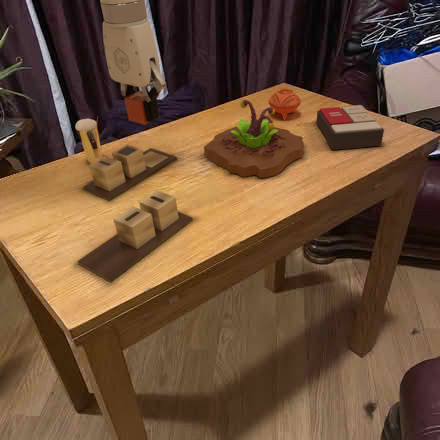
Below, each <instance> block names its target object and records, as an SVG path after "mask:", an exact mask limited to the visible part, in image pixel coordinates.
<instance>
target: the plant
mask: <svg viewBox="0 0 440 440" xmlns="http://www.w3.org/2000/svg"><path fill="white" fill-rule="evenodd" d="M239 105H240V107H241V108H242V109H245V108H247V107H249V110H250V118H251V119H250V121H249V122H248V121H247V120H245V119H240V120H239V124H236V126H234V127H231V128H228V129H226V130H224V131H220V132H219V133H216V134H214V137H213V139H212V140H209V142H208V143H206V144H205V145H204V146H203V156H204V157H205V158H207V160H209V161H211V162H214V163H215V164H216V165H217V166H218V167H220V168H223V169H226V170H228V172H229V174H236V175H239V176H240V177H242V178H247V177H251V176H256V177H258V178H260V179H265V178H272V177H274V176H277V175H279V174H281V172H282V171H283V170H284V169H285V167H287V166H288V165H290V164H292V163H293V162H294V161H296V160H298V159H301V158H302V157H303V156H302V155H303V153H304V144H305V142H304V141H303V138H304V137H303V136H301V135H297V134H294V133H292V132H291V131H290V130H288V129H286V128H280V127H276V126H275V123H274V121H273V120H272V119H271V117H270V116H274V115H275V113H276V111H275V110H274V109H273V108H272V107H270V106H269V107H266V108H265V109H263V111H262V112H261V113H260V115H259V117H258V118H257V113H256V109H255V107H254V105H253V103H252V102H251V101H250V100H247V99H243V100H241V102H240V104H239ZM267 112H268V114H269V115H270V116H268V115H265V114H266V113H267Z"/></svg>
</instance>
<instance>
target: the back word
mask: <svg viewBox="0 0 440 440" xmlns="http://www.w3.org/2000/svg"><path fill="white" fill-rule="evenodd" d="M111 156H112V157H110V156H107V155H106V156H102V157H103V158H101V159H100V160H98V161H96V162H94V163H92V164H91V163H89V165H88V167H89V170H90V174H91V177H92V181H90V182H89V183H87V184H85V185H84V186H82V190H84V191H85V192H88V193H91V194H92V195H95V196H98V197H100V198H102V199H104V200H107V201H109V202H110V201H112V200H113V199H115V198H117V197H118V196H120V195H121V194H123V193H125V192H126V191H128V190H130V189H131V188H133V187H134V186H136V185H138V184H139V183H141V182H143V181H144V180H146V179H147V178H149V177H151V176H152V175H154V174H155V173H157V172H159V171H160V170H162V169H163V168H165V167H167V166H168V165H170V164H171V163H173V162H175V161H176V160H178V158H177V156H175V155H173V154H170V153H168V152H167V153H166V152H163V151H160V150H157V149H154V148H151V147H149V149H146V150H145V151H144V149H143V148H140V147H137V146H133V145H130V144H125V145H124V146H122V147H120V148H118V149H116V150H114V151H113V152H111Z"/></svg>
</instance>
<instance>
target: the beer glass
mask: <svg viewBox="0 0 440 440" xmlns="http://www.w3.org/2000/svg"><path fill="white" fill-rule="evenodd" d="M98 119H99V117H97V118H96V120H94V119H91V118H83V119H79V120H78V121H77V122H76V123H75V130H76V131H75V132H76V133H77V135H78V138H79V140H80V142H81V146H82V148H83V150H84V153H85V156H86V158H87V161H88V163H89V164H92V163H94V162H96V161H98V160H100V159H101V158H103V157H104V156H103V152H102V147H101V141H100V133H99V128H98Z"/></svg>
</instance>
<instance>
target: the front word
mask: <svg viewBox="0 0 440 440" xmlns="http://www.w3.org/2000/svg"><path fill="white" fill-rule="evenodd" d="M138 204H139V207H137V206H132V205H131V206H130V207H129V208H127V209H126V210H125V211H123V212H121V213H119V214H118V215H117V216H115V217H114V218H112V219H113V222H114V226H115V230H116V234H114V235H113V236H112V237H110V238H109V239H108V240H106V241H105V242H103V243H102V244H100V245H99V246H97V247H96V248H94V249H93V250H91V251H90V252H89V253H87V254H85V256H83V257H81V258H80V259H78V260H77V264H78V265H79V266H81V267H82V268H85V269H86V270H88V271H90V272H91V273H94V274H95V275H97V276H99V277H101V278H102V279H104V280H106V281H107V282H109V283H112V282H114V281H115V280H116V279H117V278H119V277H120V276H121V275H122V274H124V273H125V272H127V271H128V270H130V268H132V267H134V265H136V264H137V263H138V262H139V261H142V259H144V258H145V257H146V256H147V255H149V254H150V253H152V252H153V251H154V250H155V249H157V248H158V247H159V246H161V245H162V244H164V242H166V241H167V240H169V239H170V238H171V237H172V236H174V235H175V234H177V233H178V232H179V231H180V230H182V229H183V228H185V227H186V226H187V225H189V223H192V221H193V219H194V218H193V217H192V216H190V215H188V214H185V213H182V212H180V211H178V205H177V198H176V196H173V195H170V194H169V193H166V192H163V191H160V190H158V189H156V190H155V191H152V192H151V193H150V194H148V195H147V196H146V197H144V198H142V199H141V200H139V201H138Z"/></svg>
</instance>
